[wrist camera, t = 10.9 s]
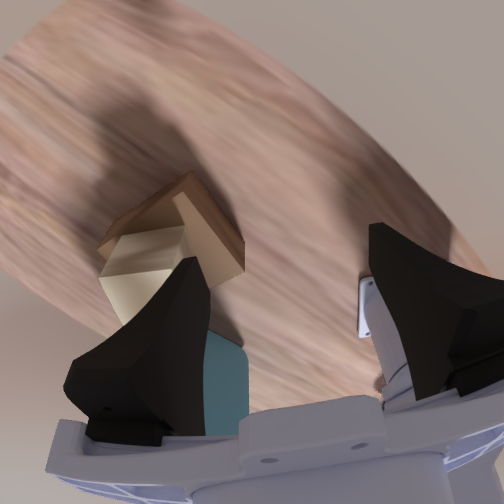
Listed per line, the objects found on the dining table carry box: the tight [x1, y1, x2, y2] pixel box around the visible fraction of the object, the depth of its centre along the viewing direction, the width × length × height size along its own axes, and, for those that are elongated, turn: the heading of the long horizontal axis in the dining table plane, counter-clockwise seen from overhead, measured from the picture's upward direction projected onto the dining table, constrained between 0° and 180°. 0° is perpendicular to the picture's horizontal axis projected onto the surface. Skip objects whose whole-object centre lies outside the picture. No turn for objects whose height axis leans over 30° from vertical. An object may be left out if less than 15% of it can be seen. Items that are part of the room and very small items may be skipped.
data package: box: [203, 329, 249, 436], centre depth 26 cm, size 12×4×12 cm, turn 49°
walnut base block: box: [96, 170, 245, 289], centre depth 23 cm, size 8×7×4 cm
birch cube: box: [98, 225, 194, 326], centre depth 19 cm, size 4×4×4 cm
